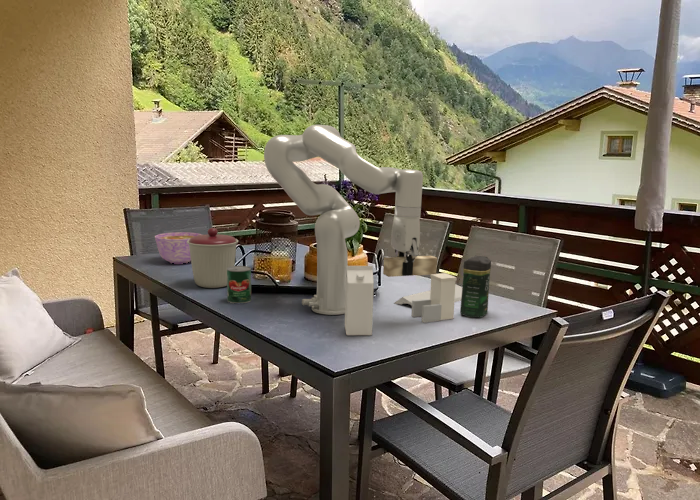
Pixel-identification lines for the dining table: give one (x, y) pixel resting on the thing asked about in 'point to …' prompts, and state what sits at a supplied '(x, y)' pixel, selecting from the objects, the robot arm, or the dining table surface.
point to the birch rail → (420, 266)
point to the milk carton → (359, 300)
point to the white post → (437, 300)
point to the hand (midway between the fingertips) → (403, 273)
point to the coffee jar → (475, 286)
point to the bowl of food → (175, 246)
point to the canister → (212, 258)
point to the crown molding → (427, 296)
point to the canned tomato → (239, 284)
